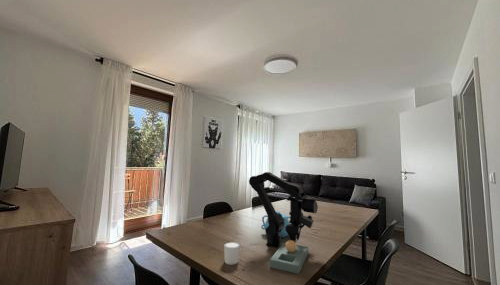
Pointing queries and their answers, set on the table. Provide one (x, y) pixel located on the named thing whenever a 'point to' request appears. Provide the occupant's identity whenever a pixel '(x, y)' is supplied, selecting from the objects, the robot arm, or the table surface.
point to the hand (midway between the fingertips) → (295, 242)
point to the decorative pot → (283, 232)
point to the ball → (290, 246)
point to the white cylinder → (231, 252)
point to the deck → (289, 259)
